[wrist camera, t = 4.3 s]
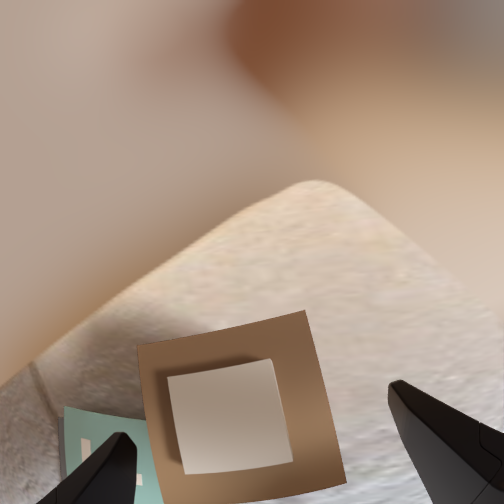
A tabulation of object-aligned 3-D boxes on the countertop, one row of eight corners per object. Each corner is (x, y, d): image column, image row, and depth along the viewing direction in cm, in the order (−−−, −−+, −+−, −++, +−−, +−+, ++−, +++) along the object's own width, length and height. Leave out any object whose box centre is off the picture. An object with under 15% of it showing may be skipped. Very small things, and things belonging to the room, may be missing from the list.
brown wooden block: (319, 432, 15) (350, 489, 5) (242, 447, 15) (154, 511, 5) (302, 361, 17) (305, 302, 7) (228, 377, 17) (125, 340, 7)
